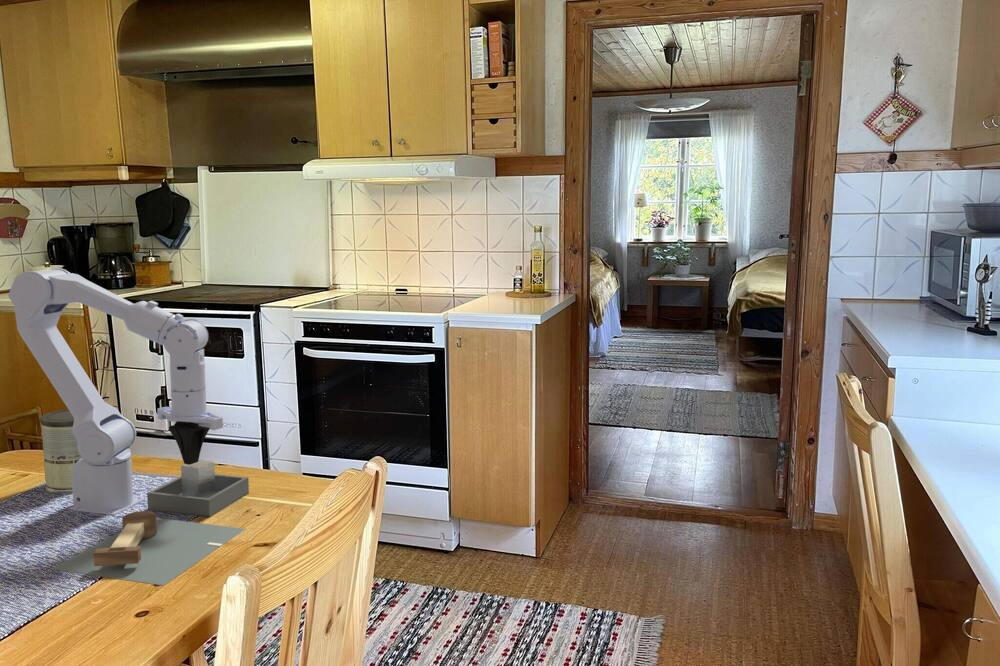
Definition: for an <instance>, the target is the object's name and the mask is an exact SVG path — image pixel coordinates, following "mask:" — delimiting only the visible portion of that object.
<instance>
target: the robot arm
mask: <svg viewBox="0 0 1000 666" xmlns="http://www.w3.org/2000/svg"><path fill="white" fill-rule="evenodd" d="M13 280H14V281H13V282H12V285H11V287H10V290H9V292H8V295H7V297H8V298H9V300H10V301H11V302H12V304H13V306H14V307H13V308H14V313H15V321H16V328H17V332H18V334H19V335H20V337H21V339H22V340H23V342H24V344H26V346H27V348H28V349H29V351H30V352H31V354H32V356H33V357H34V359H35V360H36V362H37V364H38V365H39V366H40V368H41V370H42V371H43V372H44V374H45V375H46V378H48V381H49V382H50V383H51V384H52V387H53V388H54V389H55V391H56V392H57V394H58V395H59V397H60V399H61V400H62V402H63V404H65V406H66V409H69V411H70V412H71V414H72V415H73V417H74V423H73V428H72V433H73V435H74V436H75V438H76V440H77V446H78V451H79V454H80V455H81V457H82V458H81V459H80V460H79V461H77V463H76V464H75V465H74V468H73V470H72V491H71V492H72V504H73V506H71V507H69V510H70V511H77V512H83V513H85V512H86V513H90V514H91V513H92V514H93V513H94V514H101V515H109V516H117V515H118V514H120V513H122V512H124V511H126V510H128V509H130V508H132V507H133V506H137V505H138V504H140V503H141V502H144V501H145V498H143V497H137V496H134V488H133V471H132V470H133V469H132V468H133V467H132V466H133V465H132V453H131V446H132V445H134V443H135V442H136V438H137V429H136V427H135V425H134V424H133V422H132V421H130V419H127V418H126V417H124V416H123V414H121V413H120V411H119V410H118V408H116V407H115V406H113V405H111V404H109V403H107V402H105V400H104V399H103V397H102V396H101V395H100V393H99V391H98V390H97V388H96V386H95V385H94V384H93V382H92V380H91V379H90V376H88V374H87V373H86V371H85V369H84V368H83V366H82V365H81V363H80V361H79V360H78V358H77V356H75V354H74V352H73V351H72V349H71V347H70V346H69V344H68V343H67V341H66V339H65V338H64V337H63V335H62V334H61V332H60V331H59V329H58V327H57V326H58V322H59V320H60V318H61V315H62V312H63V311H64V310H65V309H66V308H67V306H68V305H69V304H74V303H75V304H77V303H79V304H81V305H84V306H87V307H90V308H92V309H94V310H97V311H100V312H102V313H105V314H106V315H110V316H112V317H114V318H117V319H119V320H122V321H123V322H124V325H125V327H126V328H127V331H130V332H131V333H134V334H136V335H138V336H141V337H143V338H145V339H147V340H149V341H151V342H154V343H156V344H159V345H161V346H163V347H164V349H165V350H166V352H167V353H168V354H169V373H170V374H169V375H170V400H171V401H170V403H171V407H170V406H164V407H163V406H162V407H158V408H157V412H156V413H157V420H164V419H165V420H167V421H168V422H171V423H172V422H173V423H174V424H173V425H170V426H168V431H169V433H170V434H171V435H172V437H173V439H174V440H175V442H176V445H177V446H178V449H179V451H180V452H179V453H180V456H181V458H182V462H183V463H184V464H188V465H190V464H193V463H196V462H198V460H200V456H201V451H202V447H203V444H204V440H205V439H206V436H207V435H208V433H209V431H210V430H211V431H217V430H220V429H224V427H223V426H224V424H223V421H224V419H223V417H222V416H219V415H216V414H214V413H212V412H210V411H209V410H207V391H206V389H207V387H206V362H205V348H204V347H206V346H207V343H208V342H209V331H208V329H207V327H206V326H205V325H204V323H202V322H200V321H199V320H198V319H196V318H187V319H184V315H182V314H181V313H176V314H174V313H171V312H169V311H168V310H165V309H163V308H161V307H159V306H158V305H159V303H158V302H156V301H154V300H150V301H149V300H148V301H146V300H141V301H140V300H139V301H138V302H135V303H134V302H132V301H129V300H128V299H125V298H123V297H121V296H119V295H117V294H116V293H115V292H111V291H110V290H108V289H106V288H104V287H102V286H100V285H97V284H96V283H94V282H92V281H90V280H88V279H86V278H85V277H83V276H81V275H80V274H77V273H73V272H72V273H71V272H69V271H68V270H67V269H64V268H61V267H58V268H57V267H56V268H51V269H46V270H45V269H44V270H38V271H34V270H33V271H32V270H28V271H24V272H20V273H19V274H18V275H17V276H16V277H15V279H13Z"/></svg>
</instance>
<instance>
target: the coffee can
mask: <svg viewBox="0 0 1000 666" xmlns="http://www.w3.org/2000/svg"><path fill="white" fill-rule="evenodd" d="M39 422H40V423H41V424H40V425H41V438H42V449H43V450H42V451H43V463H44V466H43V467H44V479H45V480H44V481H45V489H46V491H48V492H49V493H54V494H58V493H59V492H72V470H73V468H74V465H75V464H76V463H77V461H79V460H80V459H81V458H82V457H81V455H80V454H79V451H78V446H77V440H76V438H75V436H74V435H73V433H72V428H73V423H74V417H73V415H72V414H71V412H70V411H69V409H68V408H66V409H65V408H64V409H60V410H53V411H51V412H47V413H45V414H43V415H40V417H39Z"/></svg>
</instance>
